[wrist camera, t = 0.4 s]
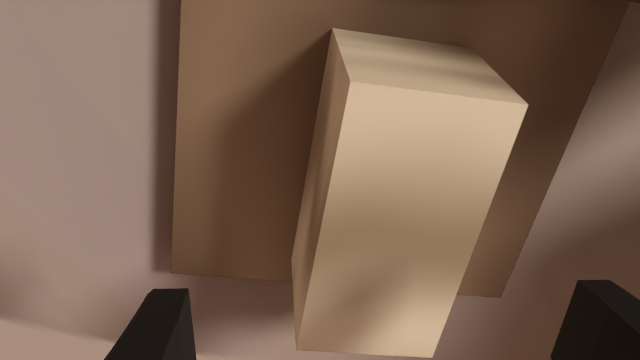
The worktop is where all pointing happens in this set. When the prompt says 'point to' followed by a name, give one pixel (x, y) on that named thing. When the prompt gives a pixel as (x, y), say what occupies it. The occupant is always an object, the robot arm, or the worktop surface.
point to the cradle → (302, 105)
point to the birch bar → (396, 191)
